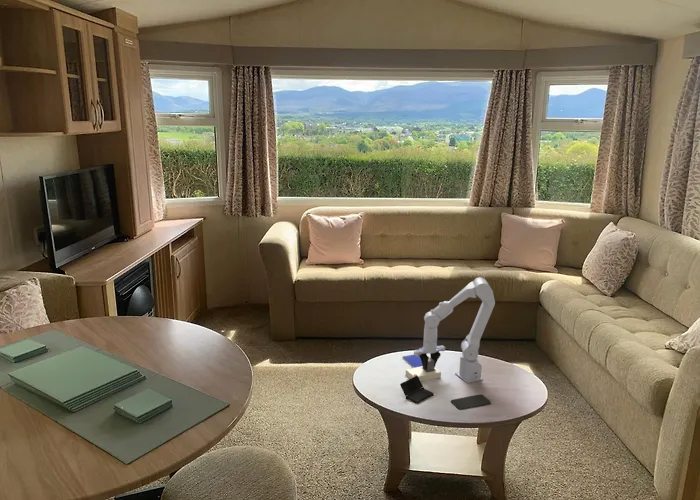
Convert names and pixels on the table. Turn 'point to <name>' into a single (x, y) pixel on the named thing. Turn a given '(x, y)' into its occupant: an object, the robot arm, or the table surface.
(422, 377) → the socket plate
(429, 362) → the plug
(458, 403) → the phone
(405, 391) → the handheld gaming console
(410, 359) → the hard drive
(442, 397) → the table surface
